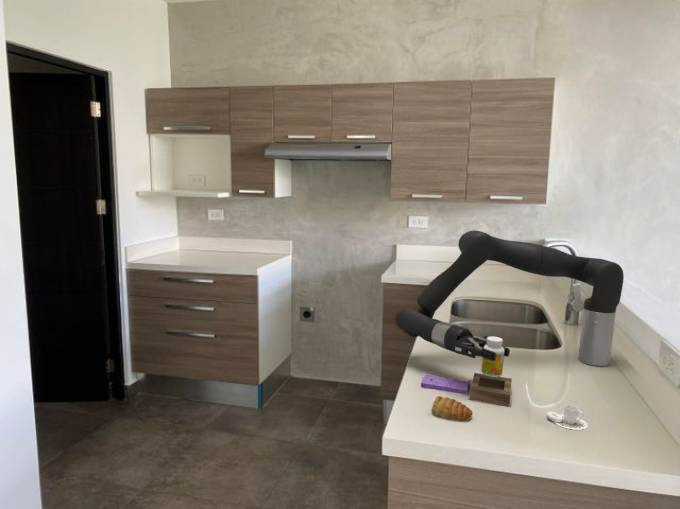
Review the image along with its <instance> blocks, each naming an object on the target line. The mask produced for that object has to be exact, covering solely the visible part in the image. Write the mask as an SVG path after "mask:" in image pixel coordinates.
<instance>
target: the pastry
mask: <svg viewBox="0 0 680 509" xmlns="http://www.w3.org/2000/svg"><path fill="white" fill-rule="evenodd" d="M431 412H432V413H433V414H434V415H435V416H436V417H439V416H440V417H442V418H444V419H446V420H451V421H457V422H463V421H465V422H467V421H469V420H471V418H472V417H473V414H474V413H473V410H471V408H469V407H467V405H466V404H463V403H462V402H461V401H458V400H456V399H455V398H450V397H449V396H445V397H443V396H441V395H437V396H436V397H435V399H434V400H433V404H432V407H431Z"/></svg>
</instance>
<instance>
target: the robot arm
mask: <svg viewBox="0 0 680 509" xmlns="http://www.w3.org/2000/svg"><path fill="white" fill-rule="evenodd" d="M458 249H459V252H460V254H459V256H458V257H457V258H456V260H455V261H454V262H452V264H451V265H450V266H449V267H447V268H446V269H445V270H444V271H442V272H441V273H440V274H438V275H437V276H435V277H434V279H433V280H432V281H430V282H429V283H428V284H427V286H426V287H425V288H424V289H423V290H422V291H421V293H420V294H419V295H418V296H417V298H416V303H417V304H418V306H419V307H418V309H417V310H414V309H413V308H408V307H407V308H406V307H405V308H401V309H399V310H398V311H397V312H396V313H395V315H394V324H395V326H396V327H397V328H398V329H399V330H400V331H401V332H402V333H404V334H405V335H407V336H408V337H410V338H418V337H420V339H422V340H424V341H426V342H428V343H431V344H433V345H436V346H438V347H440V348H442V349H444V350H447V351H450V352H452V353H455V354H458V355H460V356H461V355H462V356H466V357H468V358H472V359H476V357H477V358H486V359H489V360H491V361H494V360H496V353H495V352H493V351H490V350H487V349H483V348H484V346H485V345H487V337H489V336H487V335H484V336H483V338H482V337H479V336H476V335H473V334H472V331H471V330H470V329H469V328H467V327H464V326H460V325H458V324H454V323H451V322H448V321H443V320H439V319H437V318H434V316H435V313H436V311H437V310H439V308H440V307H441V306H442V305H443V304H444V303H445V301H447V299H448V298H449V296H451V295H452V294H453V292H454V291H455V290H456V289H457V288H458V287H459V286H460V285H461V284H462V282H464V281H465V280H466V279H468V277H470V275H472V274H473V273H474V272H475V271H476V270H478V269H479V268H480V267H481V266H482V265H484V264H485V263H486V262H487V261H492V262H496V263H500V264H503V265H506V266H509V267H511V268H514V269H517V270H520V271H522V272H526V273H530V274H534V275H538V276H543V277H544V276H545V277H551V278H552V277H553V278H555V277H556V278H561V277H562V278H570V279H573V280H576V281H579V282H582V283H585V284H587V285H589V286H592V292H591V296H590V297H588V298H586V299H585V300H584V302H583V310H582V311H583V312H582V320H581V321H582V322H581V330H580V339H579V346H578V356H577V357H578V358H577V360H578V361H580V362H581V363H583V364H586V365H589V366H595V367H607V366H610V363H611V357H612V356H611V355H612V349H613V348H612V347H613V337H614V331H615V321H616V313H617V307H619V306H618V305H619V304H620V302H621V297H622V293H623V287H624V278H625V277H624V270H623V268H622V266H621V265H620V264H619V263H617V262H614V261H610V260H608V259H603V258H595V257H586V256H585V257H584V256H578V255H573V254H570V253H568V252H565V251H562V250H559V249H557V248H554V247H550V246H547V245H542V244H537V243H531V242H525V241H519V240H517V241H516V240H510V239H509V240H508V239H502V238H499V237H496V236H493V235H491V234H489V233H486V232H484V231H481V230H480V231H479V230H474V229H473V230H469V231H467V232H464V233H463V234H462V235H461V236H460V238H459V239H458ZM502 347H503V348H504V357H505V358H506V357H509V356H510V354H511V353H510V352H511V350H510V348H508V347H506V346H503V345H502Z"/></svg>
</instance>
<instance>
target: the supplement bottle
mask: <svg viewBox="0 0 680 509" xmlns="http://www.w3.org/2000/svg"><path fill="white" fill-rule="evenodd" d="M503 342H504V340H503V338H501V337H497V336H488V337H487V345H485V346H484V348H483V349H487V350H490V351H493V352H495V353H496V360H494V361H491V360H489V359H486V358H483V357H481V358H482V360H481V374H484V375H486V376H490V377H502V376H503V370H504V360H505V356H504V348H503V347H504V346H503ZM502 346H503V347H502Z"/></svg>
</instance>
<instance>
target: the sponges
mask: <svg viewBox="0 0 680 509" xmlns="http://www.w3.org/2000/svg"><path fill="white" fill-rule="evenodd" d="M469 383H470V382H469V380H462V379H456V378H451V377H445V376H439V375H436V374H435V375H433V374H429V373H424V374H423V377H422V379H421V381H420V388H424V389H431V390H439V391H443V392H450V393H455V394H460V395H468V392H469Z"/></svg>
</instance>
